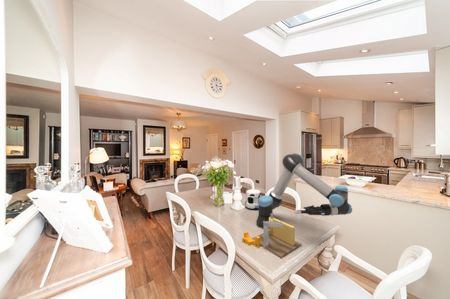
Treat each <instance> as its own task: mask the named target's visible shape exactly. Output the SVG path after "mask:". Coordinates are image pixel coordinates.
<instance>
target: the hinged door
mask: <svg viewBox="0 0 450 299" xmlns="http://www.w3.org/2000/svg"><path fill="white" fill-rule="evenodd" d="M269 221H272V222H282V224H283V227H272V226H269V229H268V231H269V234H270V235H273V236H275V237H277V238H279V239H281V240H283V241H285V242H286V243H288V244H290V245H292V246H293V245H295V241H296V226H294V225H291V224H289V223H287V222H285V221H282V220H279V218H276V217H274V212H273V213H271V214H270V217H269Z"/></svg>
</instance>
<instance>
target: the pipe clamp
mask: <svg viewBox="0 0 450 299" xmlns="http://www.w3.org/2000/svg"><path fill="white" fill-rule="evenodd" d="M256 236H257V237H256ZM256 236H255V237H256V239H255V240H253V239H252V238H251V236H250V234H249V231H247V230H245V231H244V232H243V236H242V237H241V238H242V240H241V241H242V243H243V242H244V243H243V244H245V243H246V244H245V245H247V244H248V245H247V246H254V247H256V248H258V249H259V248H260V247H261V246H260V237H259V236H258V235H256Z"/></svg>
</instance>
